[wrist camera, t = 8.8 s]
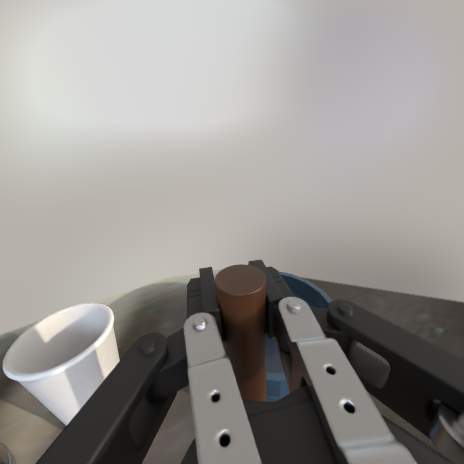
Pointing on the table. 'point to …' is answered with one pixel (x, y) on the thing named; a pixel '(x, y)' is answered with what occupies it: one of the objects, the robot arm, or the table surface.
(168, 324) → the table surface
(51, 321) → the dixie cup
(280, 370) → the bowl
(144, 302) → the table surface
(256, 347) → the cylinder
